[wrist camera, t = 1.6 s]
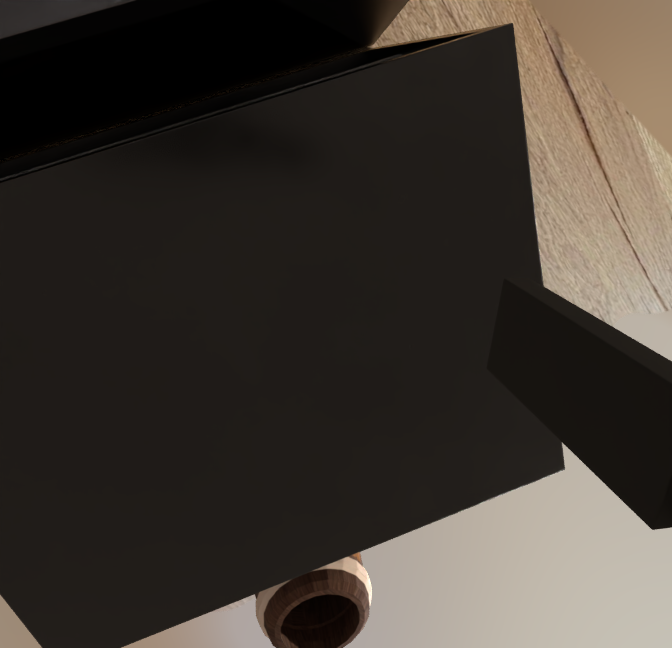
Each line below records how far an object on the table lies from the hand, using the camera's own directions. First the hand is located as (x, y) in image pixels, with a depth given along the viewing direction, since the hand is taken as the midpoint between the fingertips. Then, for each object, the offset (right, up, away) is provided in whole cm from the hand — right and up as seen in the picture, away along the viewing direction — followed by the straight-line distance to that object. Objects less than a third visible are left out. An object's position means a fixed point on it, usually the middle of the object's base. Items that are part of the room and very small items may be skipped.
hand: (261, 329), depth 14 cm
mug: (-5, -25, +59) cm, 64 cm away
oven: (-9, +6, +45) cm, 46 cm away
